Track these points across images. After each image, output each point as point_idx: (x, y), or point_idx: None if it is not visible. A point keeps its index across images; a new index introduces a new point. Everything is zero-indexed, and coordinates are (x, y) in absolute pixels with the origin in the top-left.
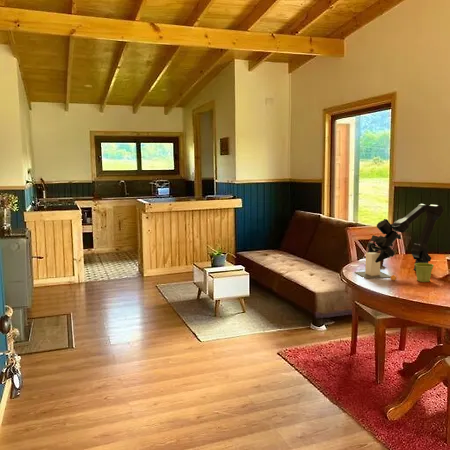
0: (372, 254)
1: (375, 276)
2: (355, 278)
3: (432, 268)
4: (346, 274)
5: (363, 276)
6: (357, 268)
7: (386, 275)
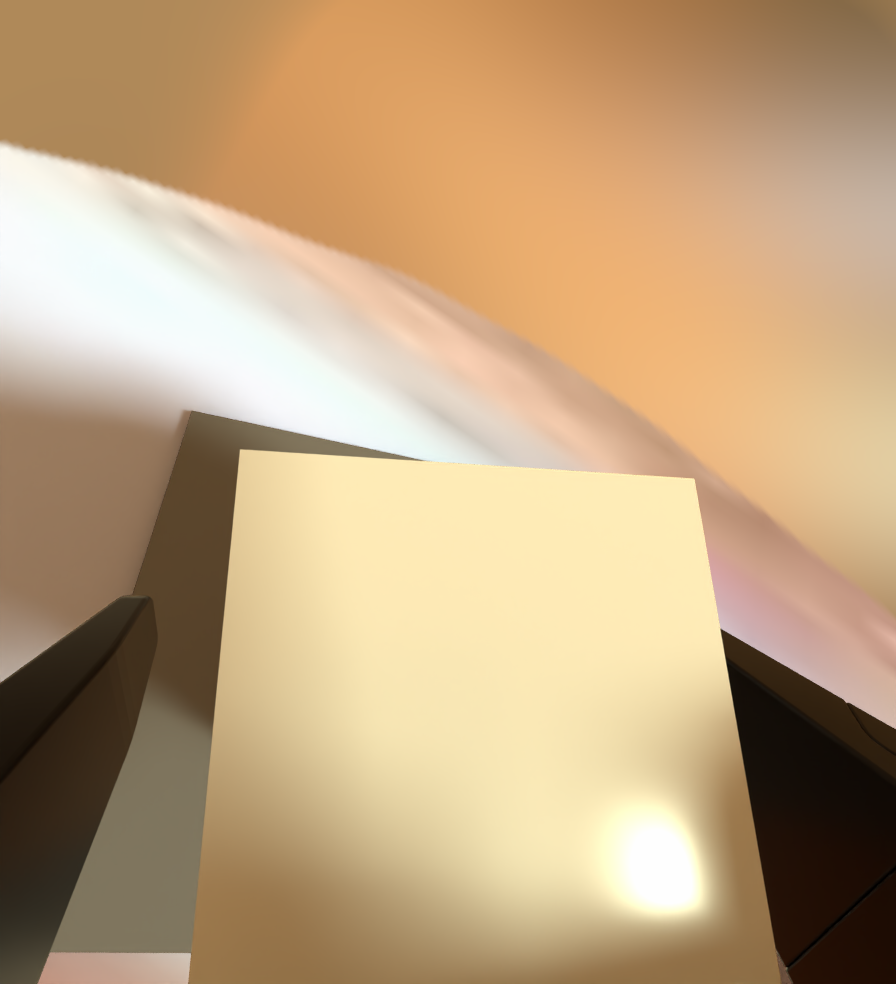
0: (237, 497)
1: (213, 621)
2: (281, 312)
3: None
4: (518, 352)
5: (297, 442)
6: None
7: (188, 890)
